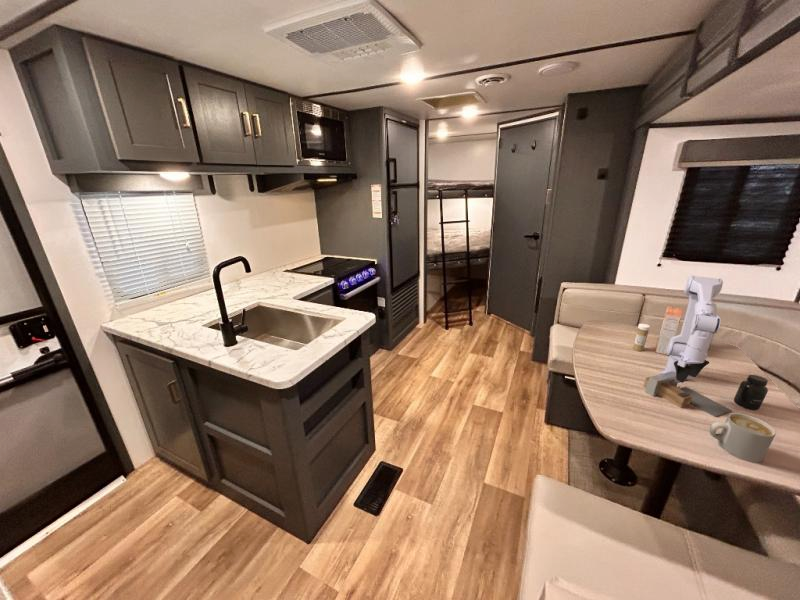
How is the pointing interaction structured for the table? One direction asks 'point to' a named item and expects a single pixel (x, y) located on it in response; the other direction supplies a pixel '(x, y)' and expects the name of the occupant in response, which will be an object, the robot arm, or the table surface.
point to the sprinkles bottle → (641, 337)
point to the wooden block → (673, 394)
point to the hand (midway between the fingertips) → (685, 378)
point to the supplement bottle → (751, 392)
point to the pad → (706, 403)
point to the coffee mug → (744, 436)
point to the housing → (656, 382)
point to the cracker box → (668, 329)
